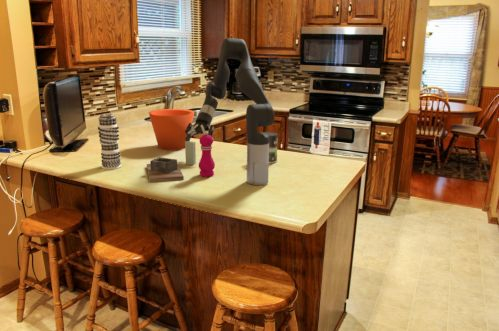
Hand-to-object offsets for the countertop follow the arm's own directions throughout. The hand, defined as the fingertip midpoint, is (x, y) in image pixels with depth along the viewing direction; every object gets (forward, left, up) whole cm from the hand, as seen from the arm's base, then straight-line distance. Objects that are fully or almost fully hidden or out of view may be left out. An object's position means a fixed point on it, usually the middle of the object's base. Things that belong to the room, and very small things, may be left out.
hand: (194, 142), depth 207 cm
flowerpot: (+35, +7, -10) cm, 37 cm away
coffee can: (-7, -35, -10) cm, 37 cm away
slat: (-3, +3, -10) cm, 11 cm away
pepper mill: (-23, -1, -10) cm, 25 cm away
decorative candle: (+1, +40, -10) cm, 41 cm away
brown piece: (-15, +17, -10) cm, 24 cm away
